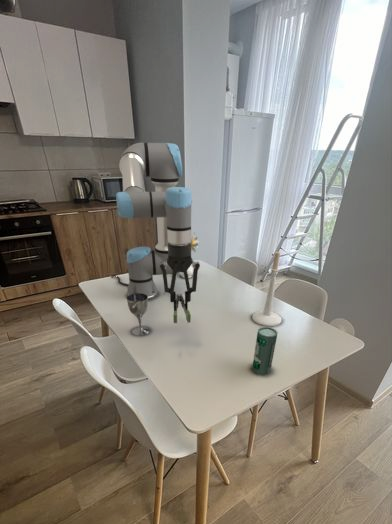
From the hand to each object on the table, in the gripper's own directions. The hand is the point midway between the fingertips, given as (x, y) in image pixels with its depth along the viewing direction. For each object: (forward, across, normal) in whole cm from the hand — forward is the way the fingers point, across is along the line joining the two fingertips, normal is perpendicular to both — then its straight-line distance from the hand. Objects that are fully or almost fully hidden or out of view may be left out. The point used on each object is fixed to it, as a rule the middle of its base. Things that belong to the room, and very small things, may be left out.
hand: (180, 309), depth 107 cm
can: (+15, -27, +19) cm, 36 cm away
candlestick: (+15, -39, -17) cm, 45 cm away
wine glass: (+15, +16, -11) cm, 24 cm away
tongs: (0, 0, 0) cm, 0 cm away
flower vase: (+15, -8, -73) cm, 75 cm away
